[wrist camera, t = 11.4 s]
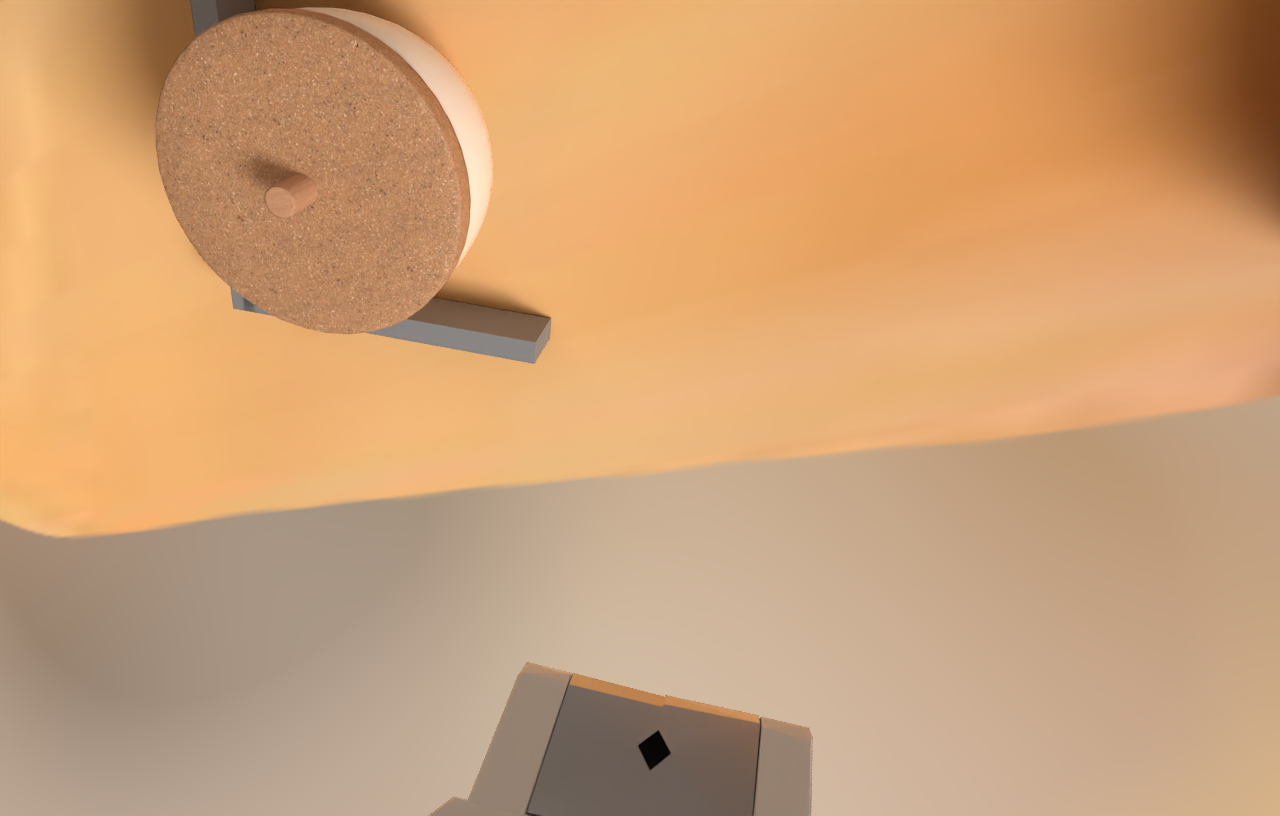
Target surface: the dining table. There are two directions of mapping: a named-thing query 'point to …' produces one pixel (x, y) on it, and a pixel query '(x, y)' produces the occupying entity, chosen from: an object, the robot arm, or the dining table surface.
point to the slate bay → (439, 316)
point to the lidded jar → (324, 164)
